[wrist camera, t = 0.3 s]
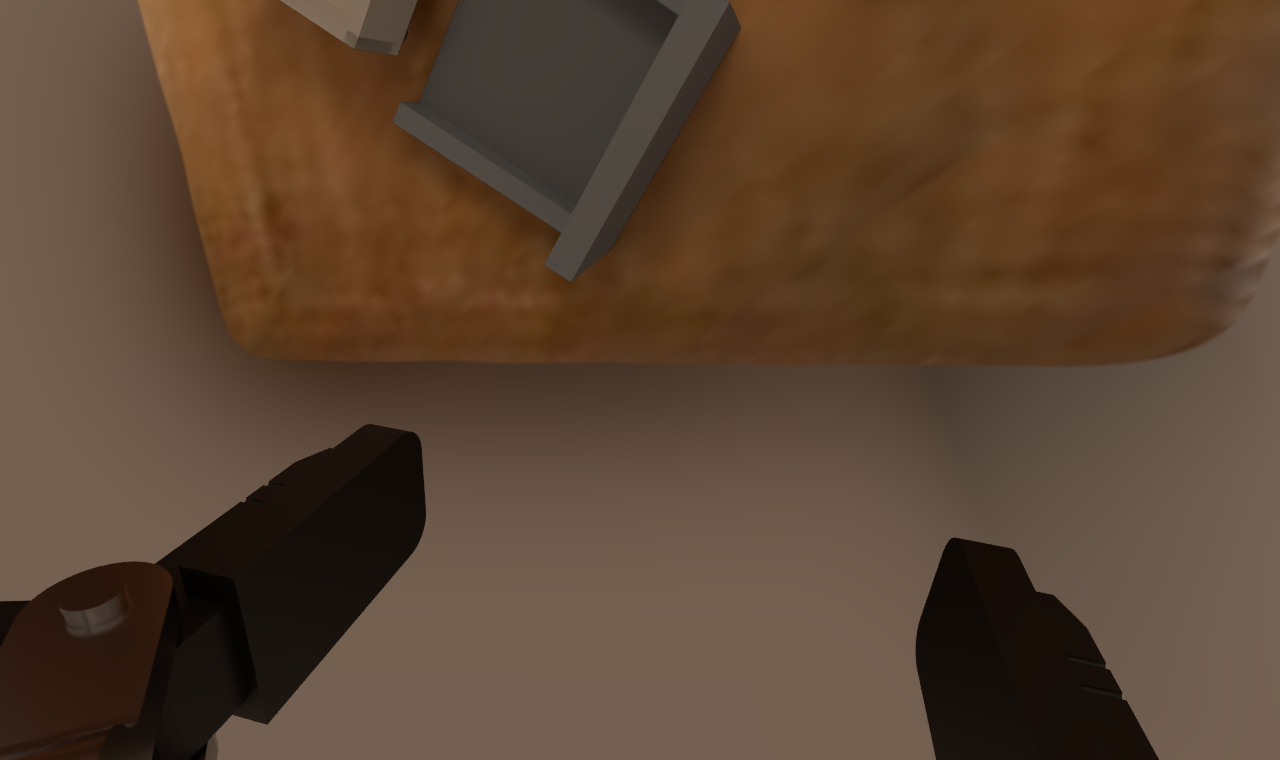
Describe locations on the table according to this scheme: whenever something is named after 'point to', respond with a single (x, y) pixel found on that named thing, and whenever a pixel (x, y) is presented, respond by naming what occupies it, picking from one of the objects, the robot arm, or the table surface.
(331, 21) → the toy cart
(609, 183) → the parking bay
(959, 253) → the table surface
